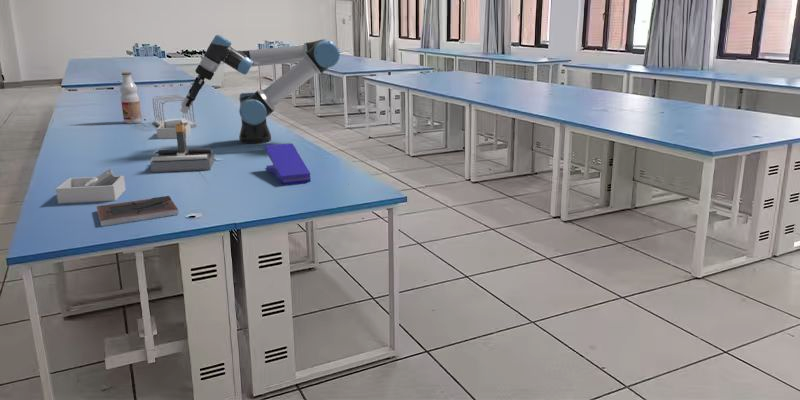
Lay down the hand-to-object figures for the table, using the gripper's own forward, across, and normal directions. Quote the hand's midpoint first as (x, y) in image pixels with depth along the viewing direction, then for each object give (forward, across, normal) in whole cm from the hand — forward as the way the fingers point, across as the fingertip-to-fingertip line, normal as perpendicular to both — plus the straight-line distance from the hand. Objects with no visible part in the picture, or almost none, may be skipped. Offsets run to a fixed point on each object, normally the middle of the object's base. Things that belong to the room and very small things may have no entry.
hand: (183, 109), depth 272 cm
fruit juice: (+36, -85, -14) cm, 94 cm away
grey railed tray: (+11, +34, +6) cm, 36 cm away
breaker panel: (+14, +34, +9) cm, 38 cm away
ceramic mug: (+21, -37, +5) cm, 43 cm away
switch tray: (+29, +69, -16) cm, 76 cm away
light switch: (+29, +68, -15) cm, 75 cm away
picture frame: (+20, +93, -2) cm, 95 cm away
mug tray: (+20, -37, +5) cm, 43 cm away
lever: (+10, +34, +6) cm, 36 cm away
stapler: (-7, +61, +40) cm, 73 cm away
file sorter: (+23, -68, +5) cm, 72 cm away
